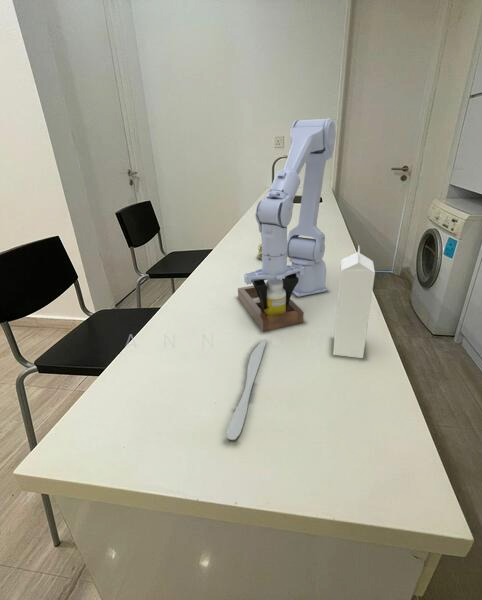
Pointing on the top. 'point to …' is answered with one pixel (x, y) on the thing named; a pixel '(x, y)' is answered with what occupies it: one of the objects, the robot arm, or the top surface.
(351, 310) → the milk
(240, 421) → the butter knife
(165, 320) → the top surface
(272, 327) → the divided wooden frame
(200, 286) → the top surface
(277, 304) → the supplement bottle
